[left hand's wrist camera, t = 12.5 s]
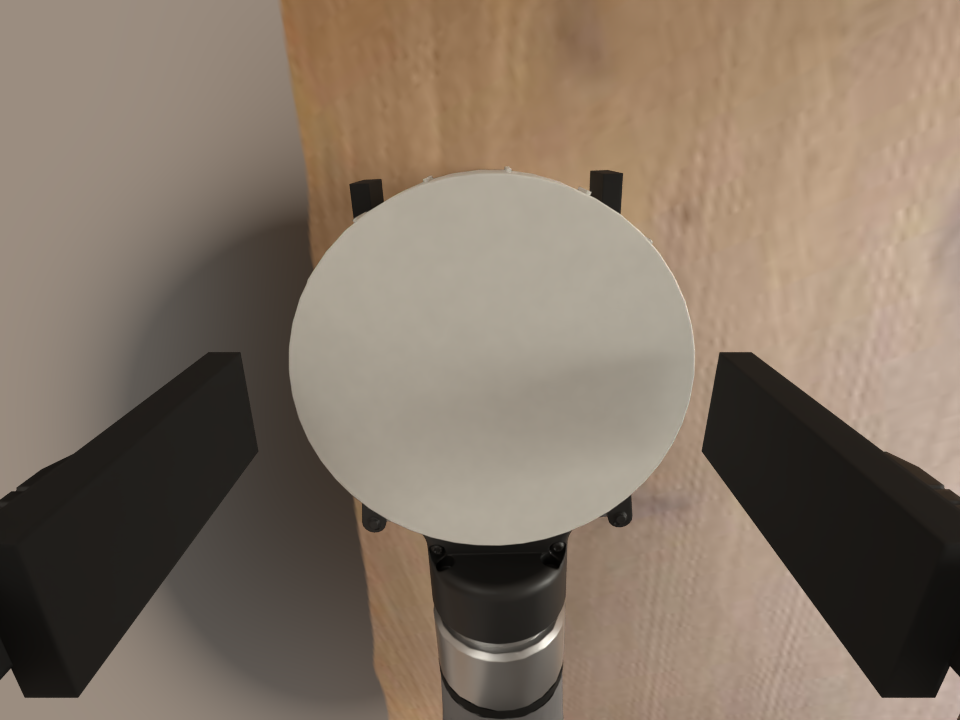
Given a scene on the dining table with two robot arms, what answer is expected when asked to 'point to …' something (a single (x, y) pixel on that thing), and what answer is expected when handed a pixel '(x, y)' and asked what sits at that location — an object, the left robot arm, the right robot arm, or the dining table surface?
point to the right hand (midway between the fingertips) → (485, 176)
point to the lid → (491, 358)
